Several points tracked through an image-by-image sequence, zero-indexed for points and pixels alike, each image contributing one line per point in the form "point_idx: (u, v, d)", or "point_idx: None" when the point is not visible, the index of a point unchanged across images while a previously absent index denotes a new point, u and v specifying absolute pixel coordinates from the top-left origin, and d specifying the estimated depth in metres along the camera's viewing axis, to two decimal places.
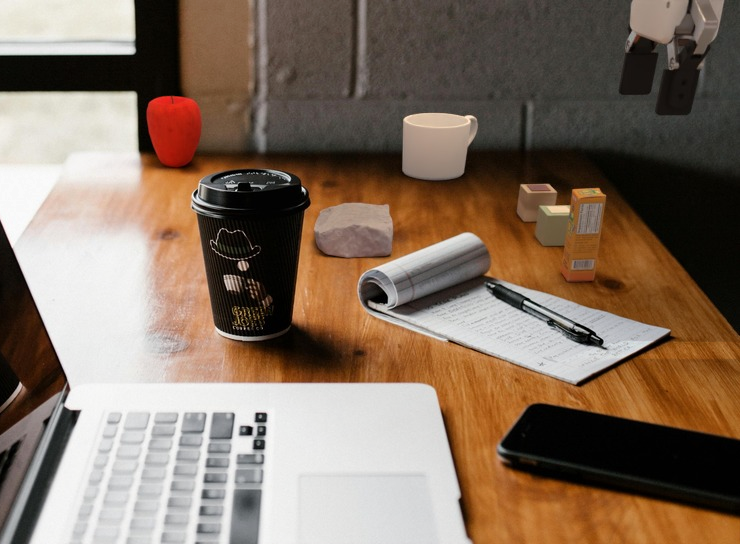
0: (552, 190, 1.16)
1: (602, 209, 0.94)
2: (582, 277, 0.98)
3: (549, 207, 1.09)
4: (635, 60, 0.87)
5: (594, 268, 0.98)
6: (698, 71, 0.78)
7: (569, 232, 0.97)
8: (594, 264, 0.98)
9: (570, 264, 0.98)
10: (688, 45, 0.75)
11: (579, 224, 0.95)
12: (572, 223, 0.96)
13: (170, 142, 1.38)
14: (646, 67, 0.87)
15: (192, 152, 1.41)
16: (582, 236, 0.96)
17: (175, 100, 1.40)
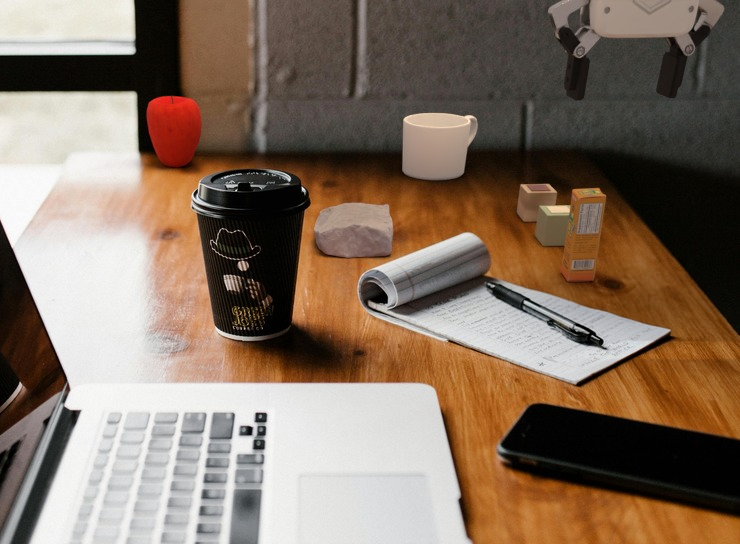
0: (552, 190, 1.16)
1: (602, 209, 0.94)
2: (582, 277, 0.98)
3: (549, 207, 1.09)
4: (665, 59, 0.87)
5: (594, 268, 0.98)
6: (583, 60, 0.84)
7: (569, 232, 0.97)
8: (594, 264, 0.98)
9: (570, 264, 0.98)
10: None
11: (579, 224, 0.95)
12: (572, 223, 0.96)
13: (170, 142, 1.38)
14: (670, 69, 0.86)
15: (192, 152, 1.41)
16: (582, 236, 0.96)
17: (175, 100, 1.40)
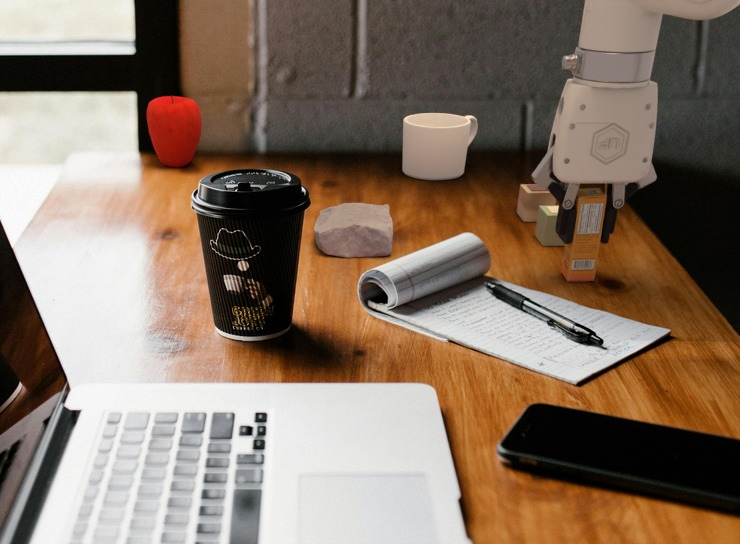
0: None
1: (603, 209, 0.94)
2: (582, 277, 0.98)
3: (549, 207, 1.09)
4: None
5: (594, 268, 0.98)
6: (571, 211, 0.94)
7: None
8: (594, 264, 0.97)
9: (570, 264, 0.98)
10: None
11: (580, 224, 0.95)
12: None
13: (170, 142, 1.38)
14: None
15: (192, 152, 1.41)
16: (583, 236, 0.96)
17: (175, 100, 1.40)
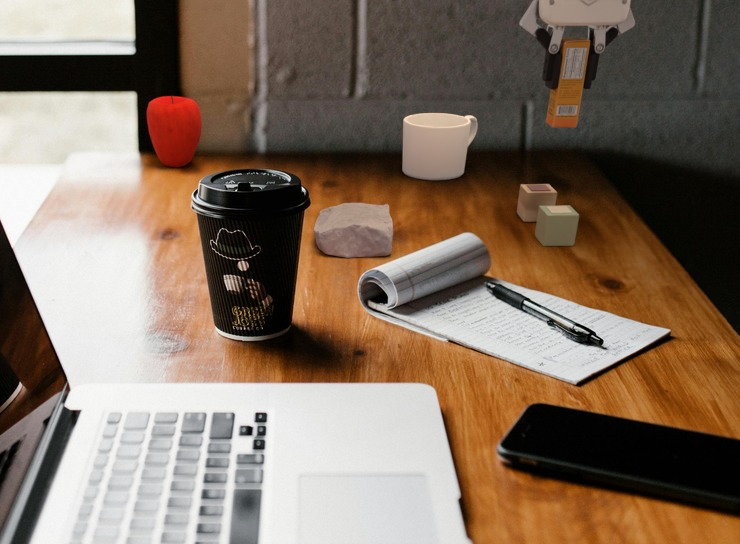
0: (552, 190, 1.16)
1: (586, 54, 1.01)
2: (566, 123, 1.05)
3: (549, 207, 1.09)
4: None
5: (577, 114, 1.05)
6: (556, 55, 1.01)
7: None
8: (577, 110, 1.05)
9: (555, 109, 1.04)
10: None
11: (565, 69, 1.02)
12: None
13: (170, 142, 1.38)
14: None
15: (192, 152, 1.41)
16: (567, 81, 1.03)
17: (175, 100, 1.40)
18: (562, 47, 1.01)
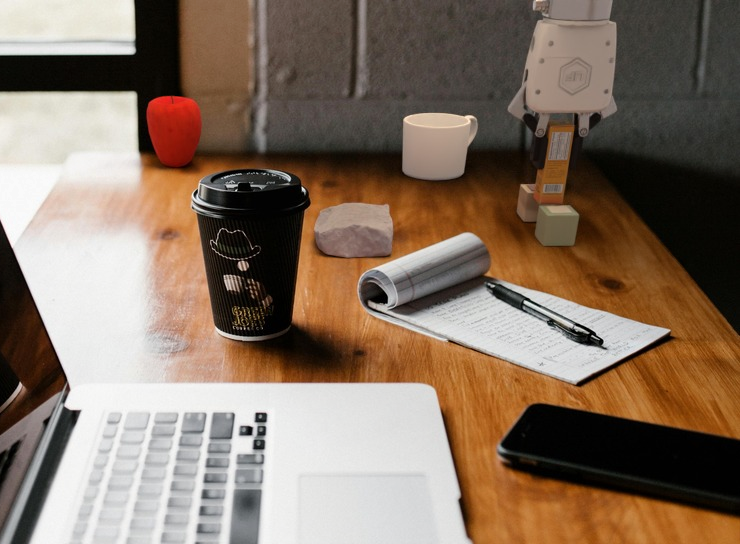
0: None
1: (571, 137, 1.07)
2: (552, 200, 1.11)
3: (549, 207, 1.09)
4: None
5: (563, 192, 1.11)
6: (542, 139, 1.07)
7: None
8: (563, 188, 1.10)
9: (542, 187, 1.10)
10: None
11: (551, 151, 1.08)
12: None
13: (170, 142, 1.38)
14: None
15: (192, 152, 1.41)
16: (553, 162, 1.09)
17: (175, 100, 1.40)
18: (548, 131, 1.07)
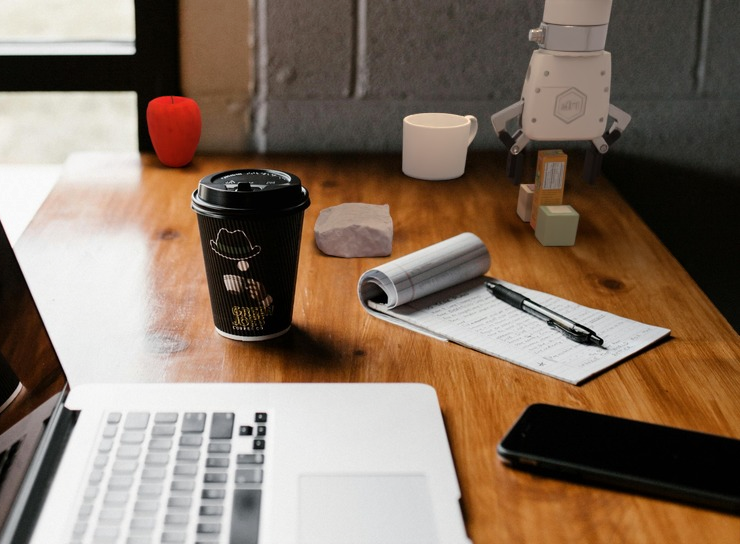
0: None
1: (564, 167, 1.09)
2: None
3: (549, 207, 1.09)
4: (587, 154, 1.10)
5: None
6: (518, 155, 1.08)
7: (536, 188, 1.12)
8: None
9: (537, 216, 1.12)
10: None
11: (545, 180, 1.10)
12: (538, 180, 1.11)
13: (170, 142, 1.38)
14: (590, 162, 1.10)
15: (192, 152, 1.41)
16: (547, 191, 1.10)
17: (175, 100, 1.40)
18: (541, 161, 1.09)
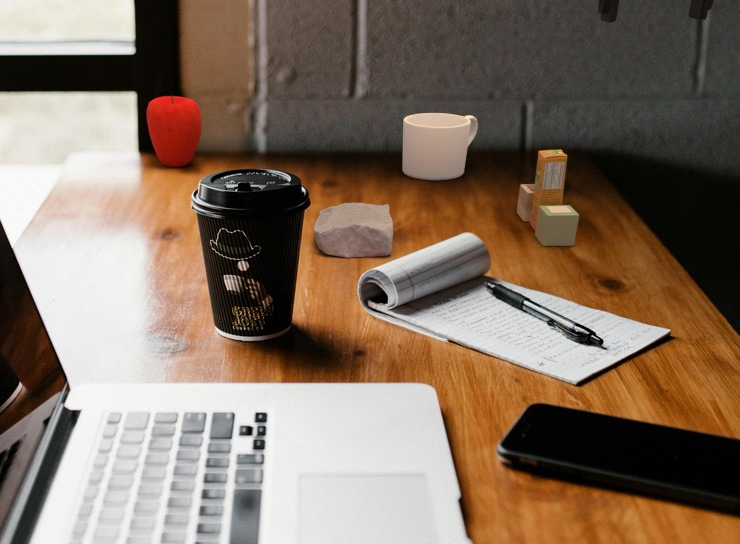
0: None
1: (564, 167, 1.09)
2: None
3: (549, 207, 1.09)
4: None
5: None
6: None
7: (536, 188, 1.12)
8: None
9: (537, 216, 1.12)
10: None
11: (545, 180, 1.10)
12: (539, 180, 1.11)
13: (170, 142, 1.38)
14: None
15: (192, 152, 1.41)
16: (547, 191, 1.10)
17: (175, 100, 1.40)
18: (541, 161, 1.09)
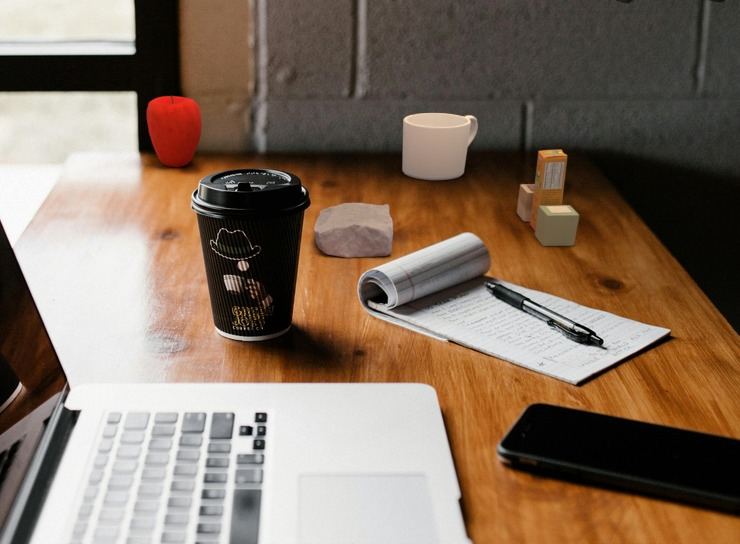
0: None
1: (564, 167, 1.09)
2: None
3: (549, 207, 1.09)
4: None
5: None
6: None
7: (536, 188, 1.12)
8: None
9: (537, 216, 1.12)
10: None
11: (545, 180, 1.10)
12: (538, 180, 1.11)
13: (170, 142, 1.38)
14: None
15: (192, 152, 1.41)
16: (547, 191, 1.10)
17: (175, 100, 1.40)
18: (541, 161, 1.09)
